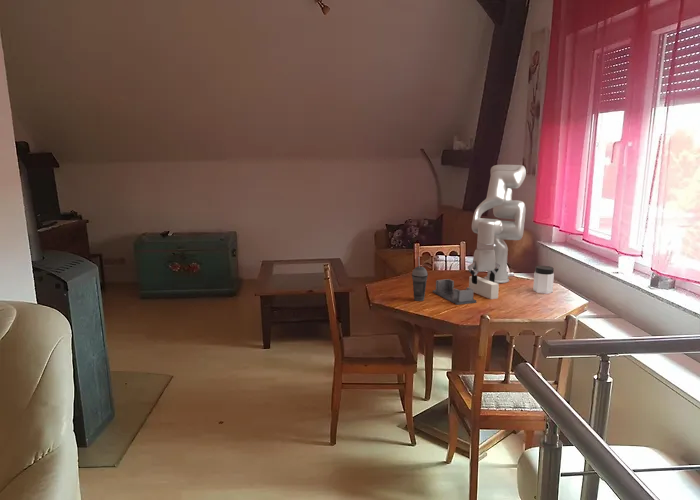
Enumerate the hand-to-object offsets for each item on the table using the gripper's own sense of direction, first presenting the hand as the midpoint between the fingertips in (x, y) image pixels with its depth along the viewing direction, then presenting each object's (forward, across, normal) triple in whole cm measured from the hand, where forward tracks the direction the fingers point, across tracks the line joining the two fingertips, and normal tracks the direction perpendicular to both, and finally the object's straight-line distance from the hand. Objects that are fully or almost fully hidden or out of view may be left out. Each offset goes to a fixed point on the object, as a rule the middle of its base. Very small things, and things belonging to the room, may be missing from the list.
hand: (483, 282), depth 249 cm
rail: (+6, -1, -1) cm, 6 cm away
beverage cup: (+7, +32, -3) cm, 33 cm away
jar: (+5, -31, +5) cm, 32 cm away
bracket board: (+6, +15, -1) cm, 16 cm away
